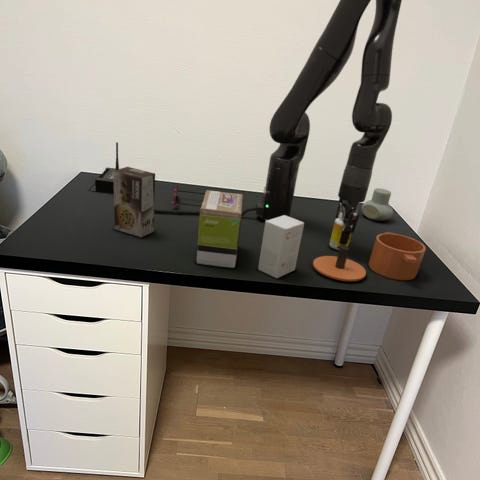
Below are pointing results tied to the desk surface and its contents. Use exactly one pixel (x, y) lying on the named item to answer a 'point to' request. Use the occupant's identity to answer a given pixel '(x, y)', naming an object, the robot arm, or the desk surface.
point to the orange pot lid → (339, 266)
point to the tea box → (219, 229)
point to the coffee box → (134, 201)
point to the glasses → (178, 197)
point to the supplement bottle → (338, 234)
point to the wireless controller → (106, 178)
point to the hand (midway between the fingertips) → (340, 239)
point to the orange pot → (396, 256)
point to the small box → (280, 245)
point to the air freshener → (378, 206)
